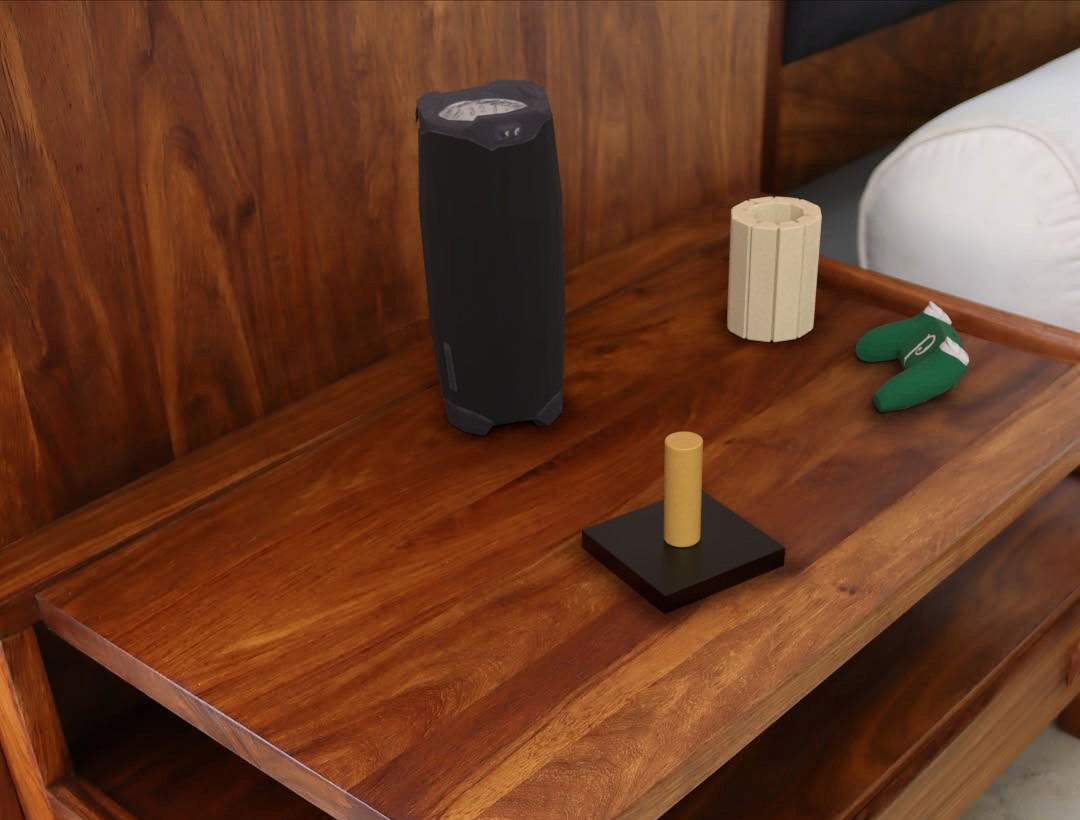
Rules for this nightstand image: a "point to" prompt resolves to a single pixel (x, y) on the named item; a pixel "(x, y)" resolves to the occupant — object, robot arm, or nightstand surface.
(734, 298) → the cream hollow cylinder
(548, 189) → the portable speaker
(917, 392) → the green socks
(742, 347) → the nightstand surface
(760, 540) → the stand
